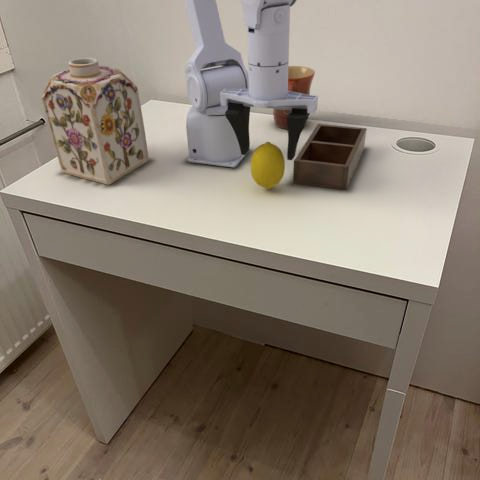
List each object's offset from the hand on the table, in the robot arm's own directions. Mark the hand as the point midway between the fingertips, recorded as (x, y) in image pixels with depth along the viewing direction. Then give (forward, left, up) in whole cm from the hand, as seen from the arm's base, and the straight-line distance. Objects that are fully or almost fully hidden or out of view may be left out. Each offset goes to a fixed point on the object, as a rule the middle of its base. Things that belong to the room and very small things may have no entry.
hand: (267, 154), depth 80 cm
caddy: (+8, +12, -6) cm, 16 cm away
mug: (-4, +28, -6) cm, 29 cm away
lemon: (0, 0, -6) cm, 6 cm away
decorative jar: (-31, 0, -6) cm, 32 cm away
